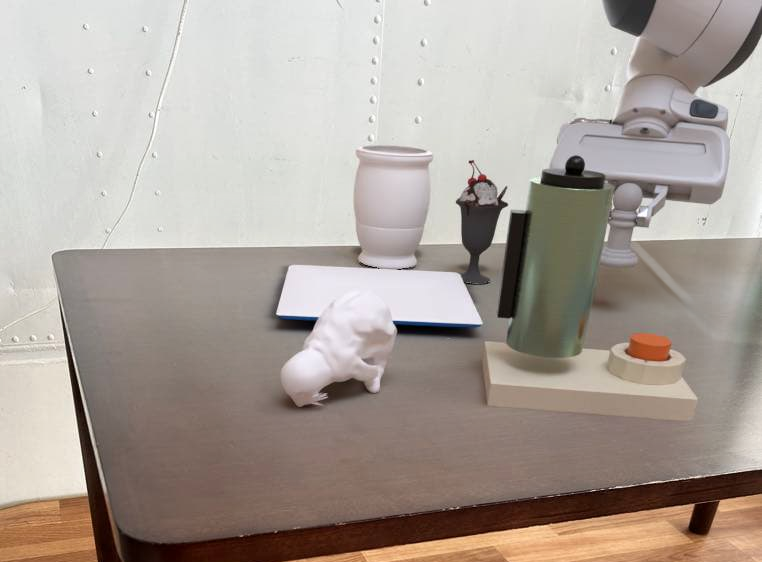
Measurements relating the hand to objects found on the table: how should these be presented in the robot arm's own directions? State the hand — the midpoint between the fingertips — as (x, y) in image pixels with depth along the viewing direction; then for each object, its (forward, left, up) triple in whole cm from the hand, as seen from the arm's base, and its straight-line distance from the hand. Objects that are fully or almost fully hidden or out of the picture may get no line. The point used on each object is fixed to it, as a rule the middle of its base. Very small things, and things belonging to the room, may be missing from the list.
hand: (622, 222), depth 96 cm
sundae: (+16, -12, -11) cm, 23 cm away
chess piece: (0, -1, -5) cm, 5 cm away
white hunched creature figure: (+30, +34, -11) cm, 47 cm away
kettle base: (+7, +28, -11) cm, 31 cm away
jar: (+28, -18, -11) cm, 35 cm away
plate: (+28, +5, -11) cm, 31 cm away
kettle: (+12, +27, -7) cm, 30 cm away
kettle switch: (+2, +28, -7) cm, 29 cm away
